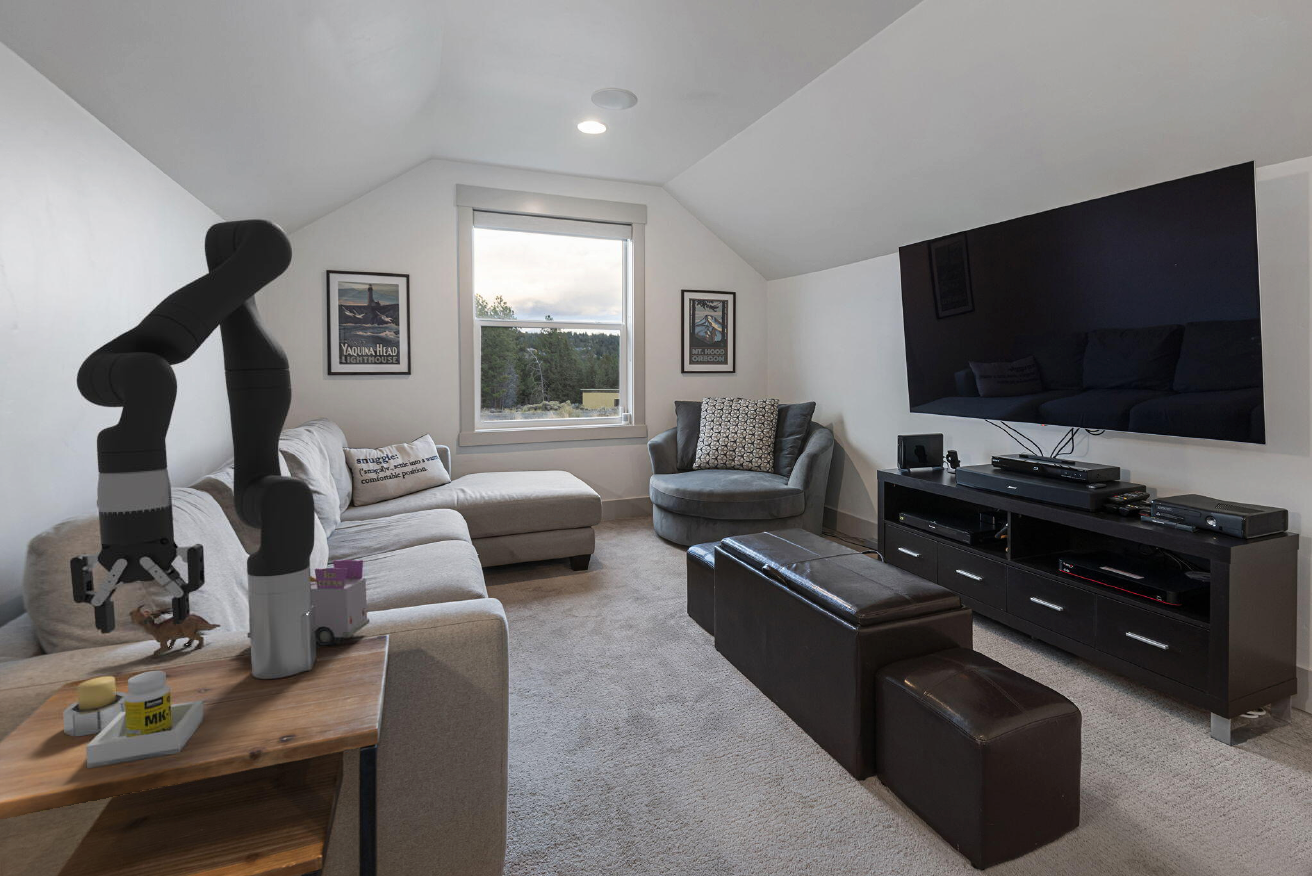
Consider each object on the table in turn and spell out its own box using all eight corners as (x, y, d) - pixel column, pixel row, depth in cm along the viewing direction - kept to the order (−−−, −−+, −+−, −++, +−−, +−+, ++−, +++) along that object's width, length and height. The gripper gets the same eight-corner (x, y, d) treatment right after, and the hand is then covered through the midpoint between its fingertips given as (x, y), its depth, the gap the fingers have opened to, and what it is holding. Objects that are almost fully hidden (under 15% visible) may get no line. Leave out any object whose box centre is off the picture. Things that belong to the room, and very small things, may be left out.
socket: (138, 708, 95) (136, 689, 95) (117, 730, 89) (116, 709, 88) (81, 717, 93) (80, 697, 92) (55, 739, 86) (54, 718, 86)
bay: (203, 719, 91) (202, 700, 91) (179, 752, 82) (178, 731, 82) (121, 731, 88) (120, 712, 88) (87, 768, 79) (86, 746, 79)
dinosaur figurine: (129, 664, 112) (126, 612, 112) (131, 654, 117) (128, 604, 117) (222, 645, 121) (220, 597, 120) (221, 637, 125) (218, 590, 125)
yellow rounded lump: (121, 694, 93) (120, 674, 93) (108, 706, 89) (107, 685, 89) (87, 699, 92) (86, 679, 91) (72, 711, 88) (71, 690, 88)
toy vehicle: (276, 631, 128) (272, 558, 127) (371, 631, 127) (368, 557, 126) (245, 649, 119) (241, 569, 118) (347, 648, 118) (344, 569, 117)
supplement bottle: (146, 748, 82) (143, 685, 82) (117, 745, 83) (113, 682, 83) (181, 730, 87) (178, 670, 87) (153, 727, 88) (149, 668, 88)
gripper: (209, 497, 90) (216, 611, 90) (82, 504, 85) (91, 626, 86) (191, 504, 83) (198, 629, 83) (51, 513, 78) (61, 645, 79)
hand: (144, 627), depth 85 cm, fingers open, 7 cm apart
